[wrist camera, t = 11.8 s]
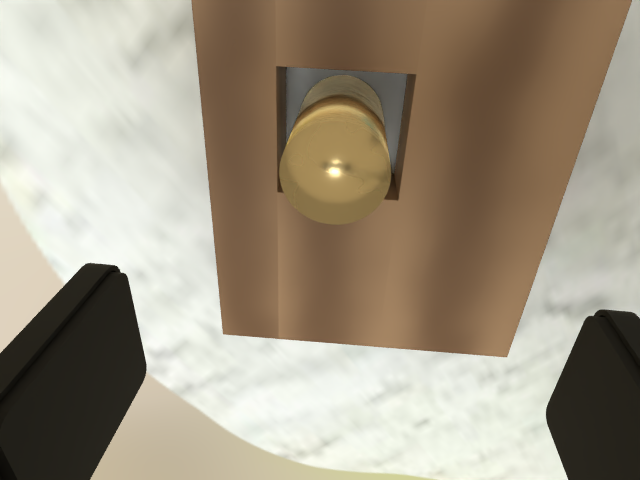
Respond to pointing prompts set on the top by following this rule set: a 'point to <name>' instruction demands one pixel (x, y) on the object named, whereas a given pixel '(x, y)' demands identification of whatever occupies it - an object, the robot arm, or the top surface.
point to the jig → (400, 163)
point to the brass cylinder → (337, 153)
